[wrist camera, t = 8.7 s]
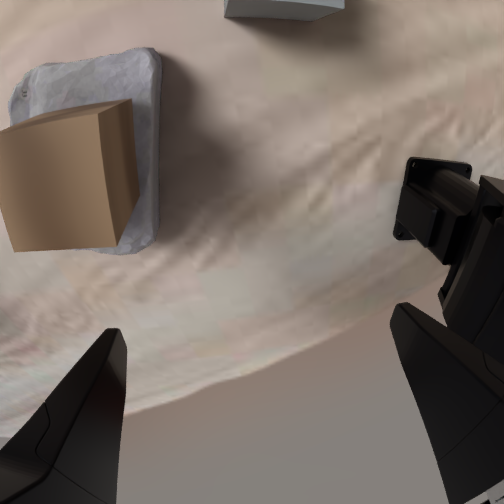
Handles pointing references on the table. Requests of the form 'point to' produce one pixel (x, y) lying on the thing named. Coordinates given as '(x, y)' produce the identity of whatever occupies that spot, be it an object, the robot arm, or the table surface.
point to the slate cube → (282, 8)
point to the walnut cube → (69, 177)
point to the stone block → (102, 90)
